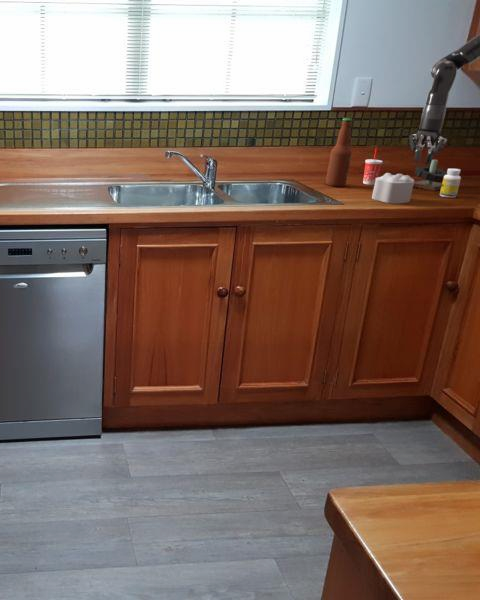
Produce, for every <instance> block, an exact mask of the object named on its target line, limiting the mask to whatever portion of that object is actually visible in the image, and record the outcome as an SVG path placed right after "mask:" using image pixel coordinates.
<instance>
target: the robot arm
mask: <svg viewBox="0 0 480 600" xmlns="http://www.w3.org/2000/svg"><path fill="white" fill-rule="evenodd" d="M479 59H480V33H479V34H477V35H476V36H474V37H473V38H471V39H470V40H468V41H467V42H466V43H463V44H462V45H461V46H460V47H458V48H457V49H456V50H454V51H452V52H450V53H448V54H447V55H446V56H444V57H442V58H441V59H439V60H438V61H436V62H435V63H434V64H433V66H432V67H431V69H430V75H431V77H432V78H433V82H432V85H431V87H430V89H429V90H428V92H427V95H426V100H425V104H424V107H423V109H422V113H421V117H420V123H419V126H418V131H417V132H416V133H415V134H409V137H408V138H409V145H410V150H411V151H413V152H415V154H414V158H413V162H414V163H416V164H418V163H420V161H421V157H422V150H423V148H424V147H425V145H426V146H427V147H426V148H427V154H426V157H425V162H424V164H425V165H431V161H432V160H433V157H434V155H435V154H439V153H440V152H441V150H442V149H443V148H444V146H445V145H446V143H447V141H448V138H446V137H445V138H444V137H443V136H442V133H441V131H442V128H443V124H444V120H445V117H446V112H447V105H448V101H449V96H450V92H451V90H452V87H453V86H454V83H455V79H456V77H457V73H458V70H460V69H462V68H463V67H465V66H468V65H471V64H472V63H475V61H477V60H479ZM417 139H418V142H417ZM436 142H438V143H437V145H436Z"/></svg>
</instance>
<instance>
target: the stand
mask: <svg viewBox="0 0 480 600" xmlns="http://www.w3.org/2000/svg"><path fill="white" fill-rule="evenodd" d="M438 162H439V161H438V159H432V161H431V163H430V164H429V165H430V166H429V167H430V170H429V172H430V173H434V174H435V170H436V169H437V166H438ZM413 186H414V187H413V188H416V187H418V188H417V189H421V188H423V189H422V190H426V189H427V191H433V192H435V191H440V190H441V186H442V182H433V181H429V180H425V179H422V180H419V181H414V185H413Z"/></svg>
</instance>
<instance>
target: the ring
mask: <svg viewBox="0 0 480 600" xmlns="http://www.w3.org/2000/svg"><path fill="white" fill-rule="evenodd" d="M429 170H430V166H425V165H419V166H416V168H415V171H414V175H415V176H416V177H418V178H419V179H422V180H425V181H427V180H429V181H433V182H436V183H442V182H443V178H444V176H445V175H447V174H448V173H447V171H445V170H443V169H440V168H436V170H435V174H434V173H430V172H429Z"/></svg>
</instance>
